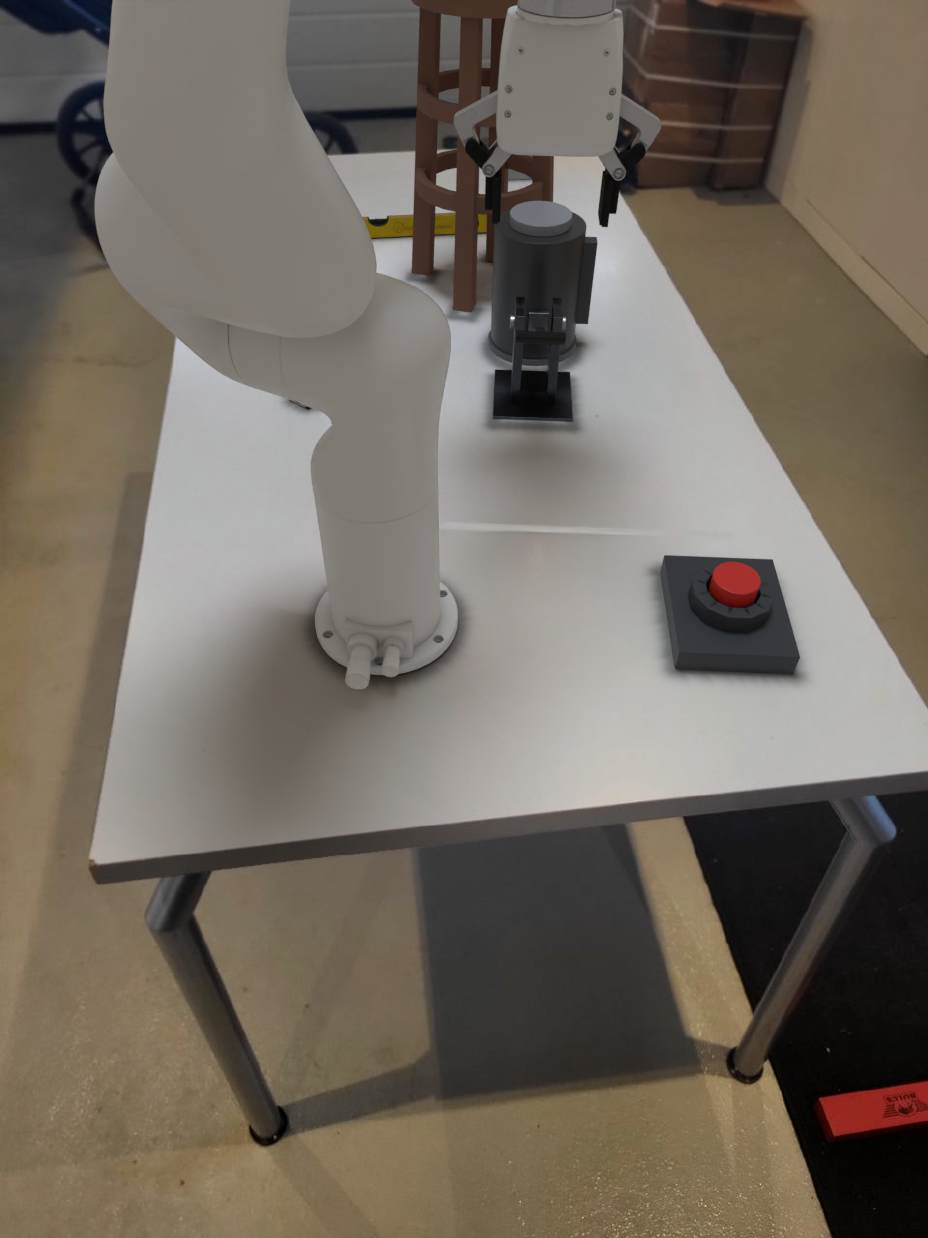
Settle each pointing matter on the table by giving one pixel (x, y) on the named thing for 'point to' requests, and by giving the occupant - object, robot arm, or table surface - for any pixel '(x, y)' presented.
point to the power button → (734, 584)
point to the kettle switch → (539, 330)
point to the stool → (466, 202)
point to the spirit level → (404, 225)
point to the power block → (726, 620)
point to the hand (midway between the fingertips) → (549, 219)
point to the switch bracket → (534, 379)
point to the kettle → (540, 274)
